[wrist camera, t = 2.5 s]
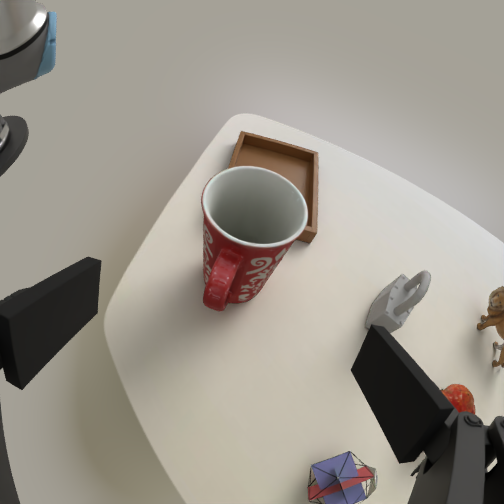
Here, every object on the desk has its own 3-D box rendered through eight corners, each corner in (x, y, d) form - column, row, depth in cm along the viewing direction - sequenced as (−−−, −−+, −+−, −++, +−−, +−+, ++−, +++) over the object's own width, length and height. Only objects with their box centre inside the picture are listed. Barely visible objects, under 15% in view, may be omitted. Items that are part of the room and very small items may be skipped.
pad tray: (213, 218, 39) (215, 206, 37) (238, 142, 49) (241, 130, 47) (310, 243, 40) (317, 233, 38) (313, 162, 50) (318, 152, 48)
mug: (216, 232, 38) (231, 151, 27) (280, 262, 38) (319, 191, 27) (166, 313, 31) (154, 251, 20) (240, 350, 31) (272, 309, 20)
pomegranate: (411, 390, 34) (417, 437, 25) (452, 359, 31) (469, 402, 22) (435, 415, 33) (442, 461, 24) (473, 387, 30) (490, 430, 21)
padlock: (380, 286, 39) (422, 250, 31) (400, 303, 38) (445, 270, 30) (360, 324, 35) (407, 292, 27) (382, 341, 35) (432, 314, 26)
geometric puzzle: (299, 525, 19) (371, 520, 16) (279, 476, 22) (352, 465, 19) (330, 495, 25) (392, 483, 21) (313, 451, 28) (376, 435, 24)
